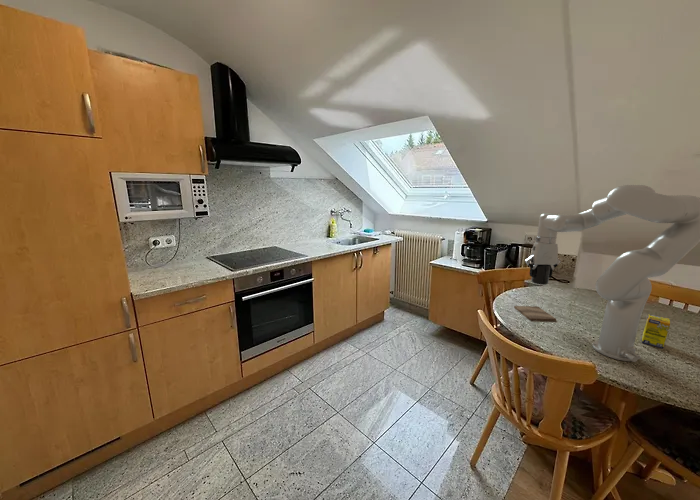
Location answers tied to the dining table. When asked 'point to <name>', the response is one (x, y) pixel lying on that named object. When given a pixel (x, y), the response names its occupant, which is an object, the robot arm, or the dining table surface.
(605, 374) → the dining table surface
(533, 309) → the walnut board
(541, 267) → the supplement bottle
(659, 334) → the supplement box
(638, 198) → the robot arm
